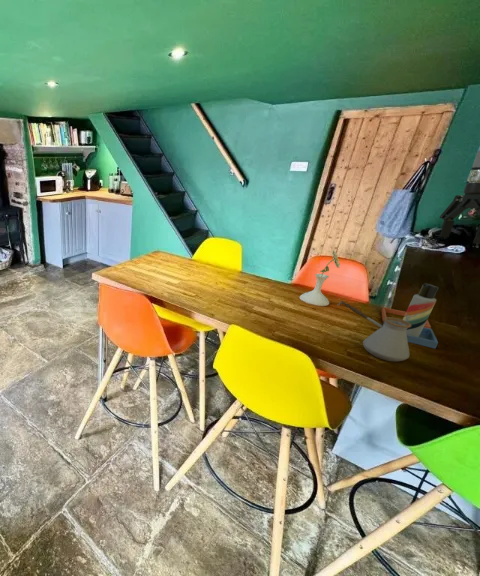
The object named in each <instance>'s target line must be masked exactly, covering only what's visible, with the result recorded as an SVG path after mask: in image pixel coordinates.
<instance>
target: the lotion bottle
mask: <svg viewBox="0 0 480 576" xmlns="http://www.w3.org/2000/svg"><path fill="white" fill-rule="evenodd" d="M438 290H439V286H436V285H434V284H431V283H426V282H425V283H423V284H422V285H421V288H420V289H419V292H418V293H417V294H414V295H413V297H412V299H411V300H410V303H409V304H408V307H407V309H406V311H405V312H406V314H405V316H403V317H402V320H404V321H407V322H409V323H410V324H411V327H409V328H407V330H406V334H407V335H410V336H415V337H419V335H420V333H421V331H422V329H423V327H424V325H425V323H426V321H427V320H429V317H430V315H431V313H432V311H433V309H434V307H435V305H436V303H437V298H435V296H436V294H437V292H438Z"/></svg>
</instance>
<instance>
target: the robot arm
mask: <svg viewBox="0 0 480 576" xmlns="http://www.w3.org/2000/svg"><path fill="white" fill-rule="evenodd" d="M478 147H479V148H478V149H477V151H476V155H475V158H474V160H473V163H472V167H471V170H470V171H469V174H468V177H467V179H466V180H467V183H465V185H464V188H463V189H462V194H458V195H457V194H456V195H455V196H454V198H453V200H452V201H451V203H450V204H449V205H448V206H447V207H446V208H445V210H444V211H443V212H442V213H441V214H440V215H439V219H442V220H443V222H442V226H441V229H440V230H441V231H440V233H439V236H438V237H439V238H450V235H451V232H452V229H453V226H454V224H455V219H456V218H457V217H459V216H460V215H461V214H462V213H463V212H465V211H466V210H468V209H470V210H471V209H473V210H475V211H476V212H477V214H478V217H479V218H480V146H478ZM472 244H478V245H479V244H480V225H479V226H478V229H477V231H476V233H475V235H474V238H473V241H472Z"/></svg>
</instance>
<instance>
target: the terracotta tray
mask: <svg viewBox="0 0 480 576" xmlns="http://www.w3.org/2000/svg"><path fill="white" fill-rule="evenodd" d="M380 312H381V318H382V323H384V318H385V317H388V316H387V313H388V314H393V315H396V316H397V315H398V316H403V317H404V316H405V314H406V311H405V310H399V309H394V308H389V307H384V306H383V307H382V308H381V309H380ZM424 327H425V328H429V329H432V328H431V327H432V326H431V324H430V322H429V319H427V321H426V323H425V325H424Z"/></svg>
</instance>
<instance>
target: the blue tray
mask: <svg viewBox="0 0 480 576" xmlns="http://www.w3.org/2000/svg"><path fill="white" fill-rule="evenodd" d="M384 324H385V321H384V322H382V325H384ZM407 341H408V343H411V344H415V345H419V346H423V347H427V348H430V349H435V350H436V348H437V346H438V344H439V342H438V341H439V340H438V339H437V336H436V335H435V333H434V331H433V329H432V328H430V329H429V328H425V327H423V329H422V331H421V333H420V335H419V337H415V336H410V335H407Z"/></svg>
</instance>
